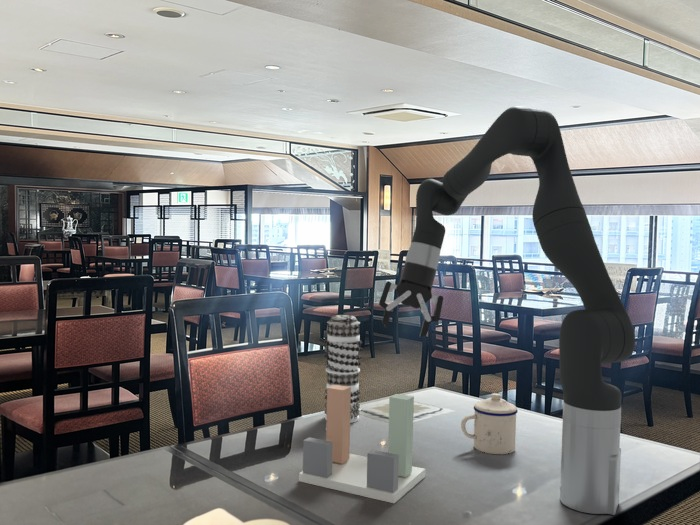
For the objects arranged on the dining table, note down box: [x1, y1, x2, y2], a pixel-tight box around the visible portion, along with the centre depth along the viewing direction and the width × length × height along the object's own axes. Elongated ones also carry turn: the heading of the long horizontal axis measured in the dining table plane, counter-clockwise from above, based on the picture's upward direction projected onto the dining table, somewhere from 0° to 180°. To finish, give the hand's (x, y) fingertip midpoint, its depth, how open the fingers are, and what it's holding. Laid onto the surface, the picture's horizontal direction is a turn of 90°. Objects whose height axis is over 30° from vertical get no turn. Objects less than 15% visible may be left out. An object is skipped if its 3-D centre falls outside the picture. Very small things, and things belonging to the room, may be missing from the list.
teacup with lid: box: [460, 393, 518, 455], centre depth 139 cm, size 12×9×12 cm
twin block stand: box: [298, 436, 426, 504], centre depth 121 cm, size 19×14×8 cm
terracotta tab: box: [325, 385, 351, 464], centre depth 126 cm, size 4×3×14 cm
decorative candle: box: [323, 314, 363, 424], centre depth 159 cm, size 9×9×25 cm
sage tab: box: [387, 393, 415, 477], centre depth 119 cm, size 4×3×14 cm
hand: (403, 332), depth 152 cm, fingers open, 8 cm apart
